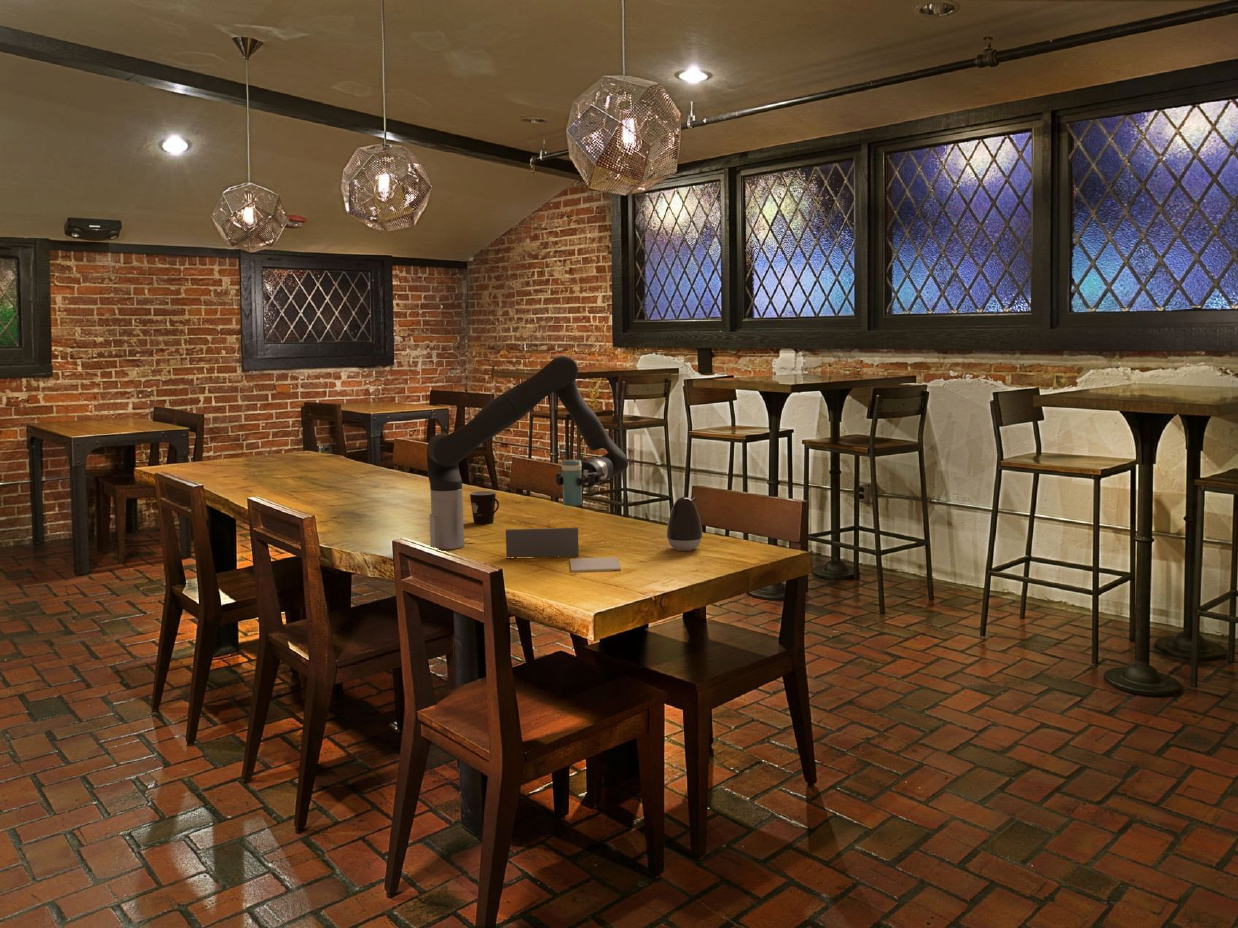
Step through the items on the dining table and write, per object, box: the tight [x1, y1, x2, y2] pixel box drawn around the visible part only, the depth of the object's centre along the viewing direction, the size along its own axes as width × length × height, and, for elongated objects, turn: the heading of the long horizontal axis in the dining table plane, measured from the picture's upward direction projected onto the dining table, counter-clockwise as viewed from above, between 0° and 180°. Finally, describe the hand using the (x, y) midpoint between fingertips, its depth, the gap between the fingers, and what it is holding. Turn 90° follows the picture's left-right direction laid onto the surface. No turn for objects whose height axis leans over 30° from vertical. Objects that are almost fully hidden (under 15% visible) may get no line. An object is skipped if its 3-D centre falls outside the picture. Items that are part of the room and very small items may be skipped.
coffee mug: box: [469, 490, 500, 526], centre depth 327 cm, size 12×9×10 cm
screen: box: [505, 527, 580, 558], centre depth 276 cm, size 20×2×8 cm, turn 94°
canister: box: [561, 459, 583, 507], centre depth 272 cm, size 5×5×12 cm
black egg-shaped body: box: [666, 496, 703, 552], centre depth 284 cm, size 10×10×15 cm
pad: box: [569, 557, 622, 573], centre depth 266 cm, size 13×13×1 cm
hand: (568, 481), depth 269 cm, fingers closed on canister, 5 cm apart
